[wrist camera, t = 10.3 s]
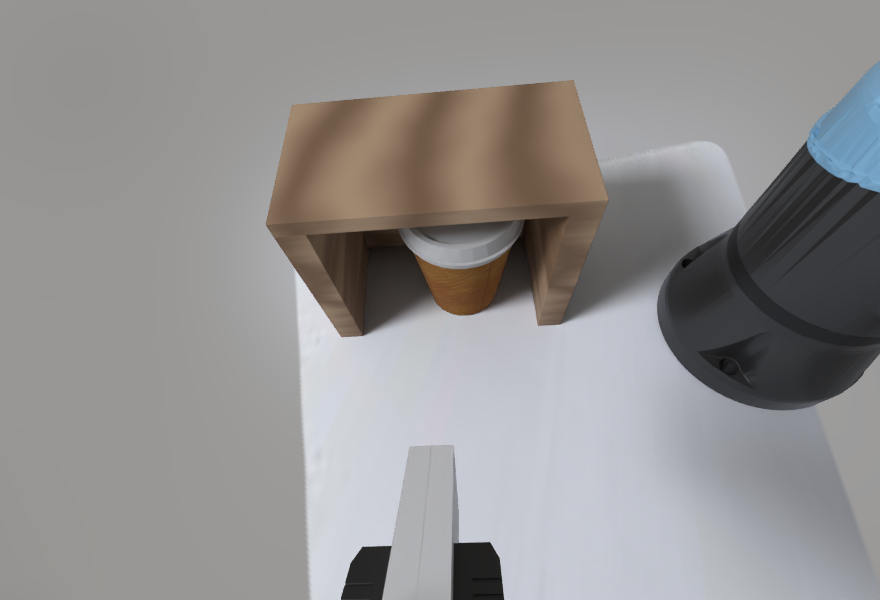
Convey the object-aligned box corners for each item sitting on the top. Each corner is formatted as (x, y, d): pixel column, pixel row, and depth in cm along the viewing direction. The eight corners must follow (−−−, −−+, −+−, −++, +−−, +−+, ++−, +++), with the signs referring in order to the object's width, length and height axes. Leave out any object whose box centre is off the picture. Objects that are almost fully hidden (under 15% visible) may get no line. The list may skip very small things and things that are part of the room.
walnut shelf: (542, 227, 44) (573, 80, 30) (560, 324, 38) (608, 199, 24) (350, 241, 45) (291, 105, 31) (341, 337, 39) (265, 224, 25)
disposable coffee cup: (413, 251, 43) (393, 160, 33) (506, 242, 43) (515, 148, 33) (416, 336, 39) (394, 262, 28) (521, 326, 38) (537, 248, 28)
